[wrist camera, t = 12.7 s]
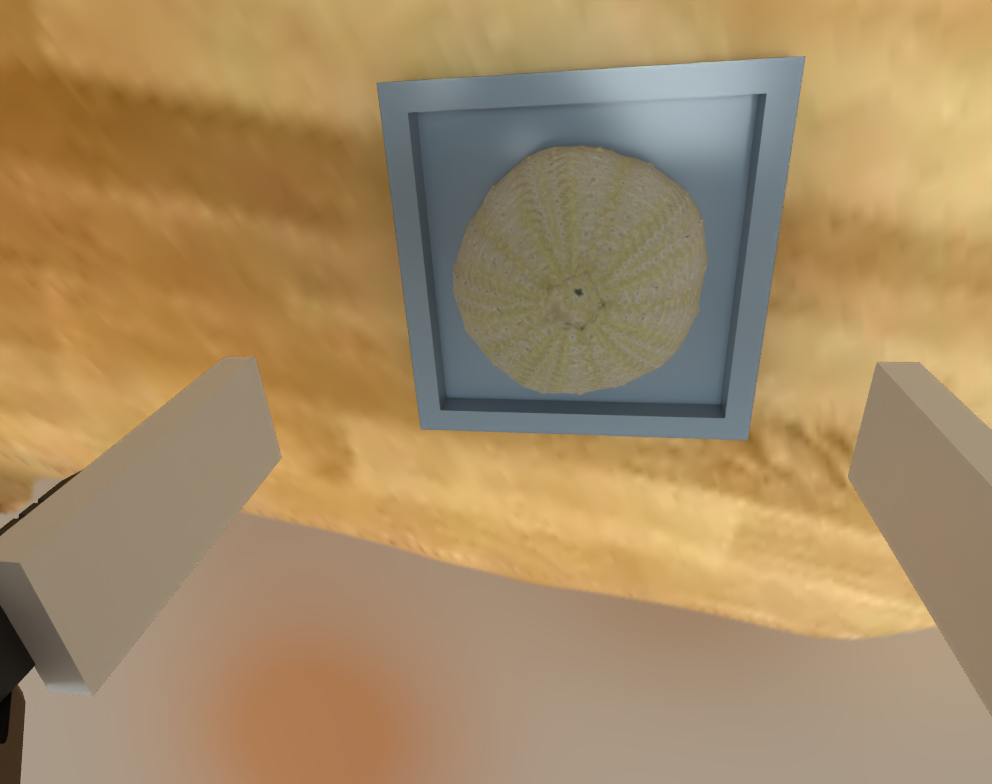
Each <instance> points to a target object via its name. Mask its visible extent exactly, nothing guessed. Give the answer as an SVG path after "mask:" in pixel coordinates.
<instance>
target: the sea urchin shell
mask: <svg viewBox="0 0 992 784" xmlns="http://www.w3.org/2000/svg"><path fill="white" fill-rule="evenodd" d="M464 229H465V234H464V236H463V239H462V242H461V246H460V249H459V252H458V256H457V259H456V262H455V264H454V266H453V268H452V273H453V286H454V288H453V289H452V291H453V293H454V297H455V299H456V303H457V306H458V308H459V310H460V313H461V316H462V319H463V323H464V328H465V331H466V332H467V333H468V334H469V336H470V338H471V339H472V340H474V341H475V342H476V343H477V345H478V346H479V347H480V349H481V350H482V351H483V353H484V354H485V355H486V356H487V358H488V359H490V360H491V361H492V364H493V366H496V367H498V368H500V369H501V370H502V371H503V372H505V373H506V374H507V375H509V376H510V377H511V378H512V379H513V380H514V381H516V382H517V383H518V384H520V385H521V386H522V387H524V388H528V389H531V390H535V391H538V392H540V393H541V394H545V393H553V394H554V393H569V394H577V395H579V396H580V395H582V394H584V393H586V392H592V391H596V390H601V389H606V388H611V387H613V388H617V387H618V386H626V384H627V383H628V382H630V381H633V380H635V379H637V378H639V377H641V376H643V375H644V374H647V373H649V372H652V371H653V370H655V369H658V368H660V367H663V364H664V363H665V362H666V361H668V360H669V359H670V358H671V357H672V356H673V355H674V354H675V352H676V351H678V350H680V348H679V347H680V346H681V344H682V343H683V341H684V339H685V338H686V336H687V334H688V332H689V330H690V327H691V325H692V323H693V321H694V319H695V317H696V316H697V314H698V313H699V312H700V308H699V302H700V296H701V290H702V286H703V282H704V275H705V271H706V268H707V264H708V262H709V261H708V259H707V251H706V244H705V232H704V225H703V218H702V214H701V213H700V212H699V210H698V208H697V207H696V205H695V203H694V202H693V200H692V198H691V196H690V194H689V192H687V190H685V189H683V188H682V187H681V186H680V185H679V184H678V183H676V182H675V181H673V180H672V179H670V178H669V177H667V176H666V175H665V174H664V173H662V172H661V171H660V170H658V169H657V168H655V167H654V165H653V163H651V162H649V163H646V162H644V161H642V160H640V159H637V158H633V157H628V156H624V155H622V154H619V153H616V152H615V151H614V150H612V149H609V150H608V149H604V148H603V147H601V146H599V147H590V146H583V145H581V146H560V147H551V148H548V149H545V150H542V151H539V152H537V153H534V154H532V155H530V156H526V157H525V158H524V160H522V161H521V162H520V163H519V164H518V165H516V166H515V167H514V168H513V169H512V170H511V171H510V172H509V173H507V174H506V175H505V176H504V177H503V178H502V179H501V180H500V181H499V182H498V183H497V184H496V185H492V186H491V189H490V191H489V192H488V193H487V194H486V196H485V199H484V201H483V203H482V204H481V206H480V208H479V209H478V211H477V212H476V214H475V215H474V217H473V218H472V219H471V220H470V221H469V224H468V225H467V227H465V228H464Z"/></svg>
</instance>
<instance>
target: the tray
mask: <svg viewBox="0 0 992 784" xmlns="http://www.w3.org/2000/svg"><path fill="white" fill-rule="evenodd" d="M804 62H805V56H799V57H783V58H767V59H751V60H735V61H719V62H702V63H686V64H670V65H654V66H638V67H622V68H606V69H590V70H574V71H558V72H542V73H526V74H510V75H494V76H477V77H461V78H445V79H429V80H413V81H397V82H381V83H377V89H378V97H379V105H380V113H381V120H382V128H383V136H384V144H385V152H386V160H387V168H388V176H389V183H390V191H391V199H392V207H393V215H394V223H395V231H396V239H397V246H398V254H399V262H400V270H401V278H402V286H403V294H404V302H405V309H406V317H407V325H408V333H409V341H410V349H411V357H412V365H413V372H414V380H415V388H416V396H417V404H418V412H419V420H420V428H421V429H426V430H456V431H486V432H516V433H546V434H576V435H606V436H636V437H666V438H696V439H726V440H748V435H749V428H750V422H751V415H752V408H753V402H754V395H755V388H756V382H757V375H758V368H759V362H760V355H761V348H762V342H763V335H764V328H765V322H766V315H767V308H768V302H769V295H770V288H771V282H772V275H773V268H774V262H775V255H776V248H777V242H778V235H779V228H780V222H781V215H782V208H783V202H784V195H785V188H786V182H787V175H788V168H789V162H790V155H791V148H792V142H793V135H794V128H795V122H796V115H797V108H798V102H799V95H800V88H801V82H802V75H803V68H804ZM581 145H583V146H590V147H599V146H601V147H603V148H604V149H608V150H609V149H612V150H614V151H615V152H616V153H619V154H622V155H624V156H628V157H633V158H637V159H640V160H642V161H644V162H646V163H649V162H651V163H653V165H654V167H655V168H657V169H658V170H660V171H661V172H662V173H664V174H665V175H666V176H667V177H669V178H670V179H672V180H673V181H675V182H676V183H678V184H679V185H680V186H681V187H682V188H683V189H685V190H687V192H689V194H690V196H691V198H692V200H693V202H694V203H695V205H696V207H697V208H698V210H699V212H700V213H701V214H702V218H703V225H704V232H705V244H706V251H707V259H708V261H709V262H708V264H707V268H706V271H705V275H704V282H703V286H702V290H701V296H700V302H699V308H700V312H699V313H698V314H697V316H696V317H695V319H694V321H693V323H692V325H691V327H690V330H689V332H688V334H687V336H686V338H685V339H684V341H683V343H682V344H681V346H680V347H679V348H680V350H678V351H676V352H675V354H674V355H673V356H672V357H671V358H670V359H669V360H668V361H666V362H665V363H664V364H663V367H660V368H658V369H655V370H653V371H652V372H649V373H647V374H644V375H643V376H641V377H639V378H637V379H635V380H633V381H630V382H628V383H627V384H626V386H618V387H617V388H613V387H611V388H606V389H601V390H596V391H592V392H586V393H584V394H582V395H580V396H579V395H577V394H569V393H554V394H553V393H545V394H541V393H540V392H538V391H535V390H531V389H528V388H524V387H522V386H521V385H520V384H518V383H517V382H516V381H514V380H513V379H512V378H511V377H510V376H509V375H507V374H506V373H505V372H503V371H502V370H501V369H500V368H498V367H496V366H493V364H492V361H491V360H490V359H488V358H487V356H486V355H485V354H484V353H483V351H482V350H481V349H480V347H479V346H478V345H477V343H476V342H475V341H474V340H472V339H471V338H470V336H469V334H468V333H467V332H466V331H465V328H464V323H463V319H462V316H461V313H460V310H459V308H458V306H457V303H456V299H455V297H454V293H453V291H452V289H453V288H454V286H453V273H452V268H453V266H454V264H455V262H456V259H457V256H458V252H459V249H460V246H461V242H462V239H463V236H464V234H465V229H464V228H465V227H467V225H468V224H469V221H470V220H471V219H472V218H473V217H474V215H475V214H476V212H477V211H478V209H479V208H480V206H481V204H482V203H483V201H484V199H485V196H486V194H487V193H488V192H489V191H490V189H491V186H492V185H496V184H497V183H498V182H499V181H500V180H501V179H502V178H503V177H504V176H505V175H506V174H507V173H509V172H510V171H511V170H512V169H513V168H514V167H515V166H516V165H518V164H519V163H520V162H521V161H522V160H524V158H525V157H526V156H530V155H532V154H534V153H537V152H539V151H542V150H545V149H548V148H551V147H560V146H581Z"/></svg>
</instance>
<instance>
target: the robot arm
mask: <svg viewBox="0 0 992 784" xmlns="http://www.w3.org/2000/svg"><path fill="white" fill-rule="evenodd" d="M281 458H282V457H281V453H280V449H279V445H278V441H277V438H276V434H275V430H274V426H273V422H272V419H271V415H270V411H269V407H268V403H267V399H266V396H265V392H264V388H263V384H262V380H261V376H260V373H259V369H258V365H257V361H256V357H224V358H222V359H221V360H220V361H219V362H217V363H216V364H215V365H214V366H212V367H211V368H210V369H209V370H207V371H206V372H205V373H204V374H202V375H201V376H200V377H199V378H197V379H196V380H195V381H194V382H192V383H191V384H190V385H189V386H187V387H186V388H185V389H184V390H182V391H181V392H180V393H179V394H177V395H176V396H175V397H174V398H172V399H171V400H170V401H169V402H167V403H166V404H165V405H164V406H162V407H161V408H160V409H159V410H157V411H156V412H155V413H154V414H152V415H151V416H150V417H149V418H147V419H146V420H145V421H144V422H142V423H141V424H140V425H139V426H137V427H136V428H135V429H134V430H132V431H131V432H130V433H129V434H127V435H126V436H125V437H124V438H122V439H121V440H120V441H119V442H117V443H116V444H115V445H114V446H112V447H111V448H110V449H109V450H107V451H106V452H105V453H104V454H102V455H101V456H100V457H99V458H97V459H96V460H95V461H94V462H92V463H91V464H90V465H89V466H87V467H86V468H85V469H83V470H81V471H80V472H78V473H76V474H74V475H72V476H70V477H68V478H66V479H64V480H62V481H61V482H59V483H58V484H57V485H56V486H55V487H53V488H52V489H51V490H49V491H48V492H47V493H46V494H44V495H43V496H42V497H40V498H39V499H38V503H33V504H32V505H30V506H29V507H28V508H27V509H25V510H24V511H23V512H22V513H20V514H19V518H18V519H13V520H11V521H10V522H9V523H7V524H6V525H5V526H4V527H2V528H1V529H0V784H20V777H21V762H22V746H23V731H24V714H25V699H24V696H23V692H22V691H21V689H20V688H19V686H18V683H19V682H20V681H21V680H22V679H23V678H24V677H25V676H26V675H27V674H28V673H29V671H30V670H31V669H32V668H33V667H34V666H35V668H36V670H37V672H38V673H39V675H40V676H41V678H42V680H43V682H44V683H45V685H46V687H47V688H48V690H49V691H50V692H53V693H63V694H73V695H83V696H94V695H95V693H96V692H97V691H98V690H99V688H100V687H101V686H102V685H103V683H104V682H105V681H106V679H107V678H108V677H109V676H110V674H111V673H112V672H113V671H114V669H115V668H116V667H117V666H118V664H119V663H120V662H121V660H122V659H123V658H124V657H125V655H126V654H127V653H128V652H129V650H130V649H131V648H132V646H133V645H134V644H135V642H136V641H137V640H138V639H139V638H140V636H141V635H142V634H143V633H144V631H145V630H146V629H147V628H148V626H149V625H150V624H151V622H152V621H153V620H154V619H155V617H156V616H157V615H158V613H159V612H160V611H161V610H162V609H163V607H164V606H165V605H166V603H167V602H168V601H169V600H170V598H171V597H172V596H173V595H174V593H175V592H176V591H177V589H178V588H179V587H180V586H181V584H182V583H183V582H184V581H185V579H186V578H187V577H188V576H189V574H190V573H191V572H192V571H193V569H194V568H195V566H197V564H198V563H199V562H200V560H201V559H202V558H203V557H204V555H205V554H206V553H207V551H208V550H209V549H210V548H211V546H212V545H213V544H214V543H215V541H216V540H217V539H218V538H219V536H220V535H221V534H222V533H223V531H224V530H225V529H226V528H227V526H228V525H229V524H230V523H231V521H232V520H233V518H234V517H235V516H236V515H237V514H238V512H239V511H240V510H241V509H242V507H243V506H244V505H245V504H246V502H247V501H248V500H249V498H250V497H251V496H252V495H253V493H254V492H255V491H256V490H257V488H258V487H259V486H260V485H261V483H262V482H263V481H264V480H265V478H266V477H267V476H268V474H269V473H270V472H271V471H272V469H273V468H274V467H275V466H276V464H277V463H278V462H279V461H280V459H281ZM848 478H849V480H850V482H851V483H852V485H853V487H854V488H855V490H856V492H857V493H858V495H859V497H860V498H861V500H862V502H863V503H864V505H865V507H866V508H867V510H868V512H869V513H870V515H871V517H872V518H873V520H874V522H875V523H876V525H877V527H878V528H879V530H880V532H881V533H882V535H883V537H884V538H885V540H886V542H887V543H888V545H889V546H890V548H891V550H892V551H893V553H894V555H895V556H896V558H897V560H898V561H899V563H900V565H901V566H902V568H903V570H904V571H905V573H906V575H907V576H908V578H909V580H910V581H911V583H912V585H913V586H914V588H915V590H916V591H917V593H918V595H919V596H920V598H921V600H922V601H923V603H924V605H925V606H926V608H927V610H928V611H929V613H930V615H931V616H932V618H933V620H934V621H935V623H936V625H937V626H938V628H939V630H940V631H941V633H942V635H943V636H944V638H945V640H946V641H947V643H948V645H949V646H950V648H951V650H952V651H953V653H954V655H955V656H956V658H957V660H958V661H959V663H960V665H961V666H962V668H963V670H964V671H965V673H966V675H967V676H968V678H969V680H970V681H971V683H972V685H973V686H974V688H975V689H976V691H977V693H978V694H979V696H980V698H981V699H982V701H983V703H984V704H985V706H986V708H987V710H988V711H989V713H990V714H991V716H992V430H991V429H990V428H989V427H988V426H987V425H986V424H985V423H983V422H982V421H981V420H980V419H979V418H978V417H977V416H976V415H975V414H974V413H973V412H972V411H971V410H970V409H969V408H968V407H966V406H965V405H964V404H963V403H962V402H961V401H960V400H959V399H958V398H957V397H956V396H955V395H954V394H953V393H952V392H950V391H949V390H948V389H947V388H946V387H945V386H944V385H943V384H942V383H941V382H940V381H939V380H938V379H937V378H936V377H935V376H933V375H932V374H931V373H930V372H929V371H928V370H927V369H926V368H925V367H924V366H923V365H922V364H921V363H920V362H877V363H876V367H875V371H874V375H873V379H872V383H871V387H870V391H869V395H868V399H867V403H866V407H865V411H864V415H863V419H862V423H861V426H860V430H859V434H858V438H857V442H856V446H855V450H854V454H853V458H852V462H851V466H850V470H849V474H848Z"/></svg>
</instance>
